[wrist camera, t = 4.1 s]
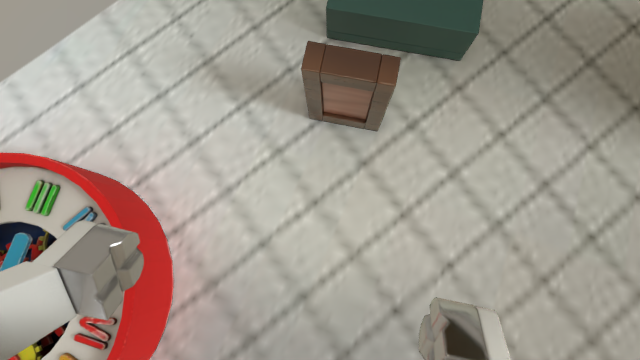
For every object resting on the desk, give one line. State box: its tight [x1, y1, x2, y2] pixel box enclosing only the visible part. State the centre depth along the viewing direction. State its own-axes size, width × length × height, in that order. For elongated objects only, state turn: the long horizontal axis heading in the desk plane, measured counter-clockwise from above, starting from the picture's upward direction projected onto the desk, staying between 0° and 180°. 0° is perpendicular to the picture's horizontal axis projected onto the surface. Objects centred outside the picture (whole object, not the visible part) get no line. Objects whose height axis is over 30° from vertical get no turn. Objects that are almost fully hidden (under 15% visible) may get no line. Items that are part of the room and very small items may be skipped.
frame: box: [301, 41, 401, 131], centre depth 27 cm, size 2×6×9 cm, turn 78°
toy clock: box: [0, 153, 174, 360], centre depth 27 cm, size 20×6×20 cm
